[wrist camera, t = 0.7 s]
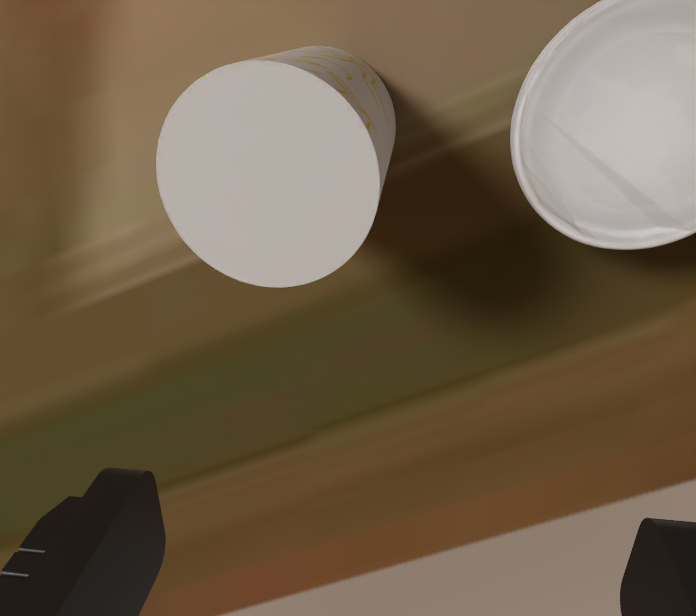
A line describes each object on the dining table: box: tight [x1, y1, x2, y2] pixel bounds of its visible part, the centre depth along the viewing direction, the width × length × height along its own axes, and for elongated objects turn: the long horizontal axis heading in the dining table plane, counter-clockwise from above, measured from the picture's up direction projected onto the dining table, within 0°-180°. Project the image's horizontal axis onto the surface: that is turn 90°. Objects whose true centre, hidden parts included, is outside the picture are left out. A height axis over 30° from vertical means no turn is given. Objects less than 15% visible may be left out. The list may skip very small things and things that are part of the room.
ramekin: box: [510, 0, 696, 250], centre depth 28 cm, size 11×11×5 cm
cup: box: [156, 46, 396, 287], centre depth 27 cm, size 8×8×12 cm
